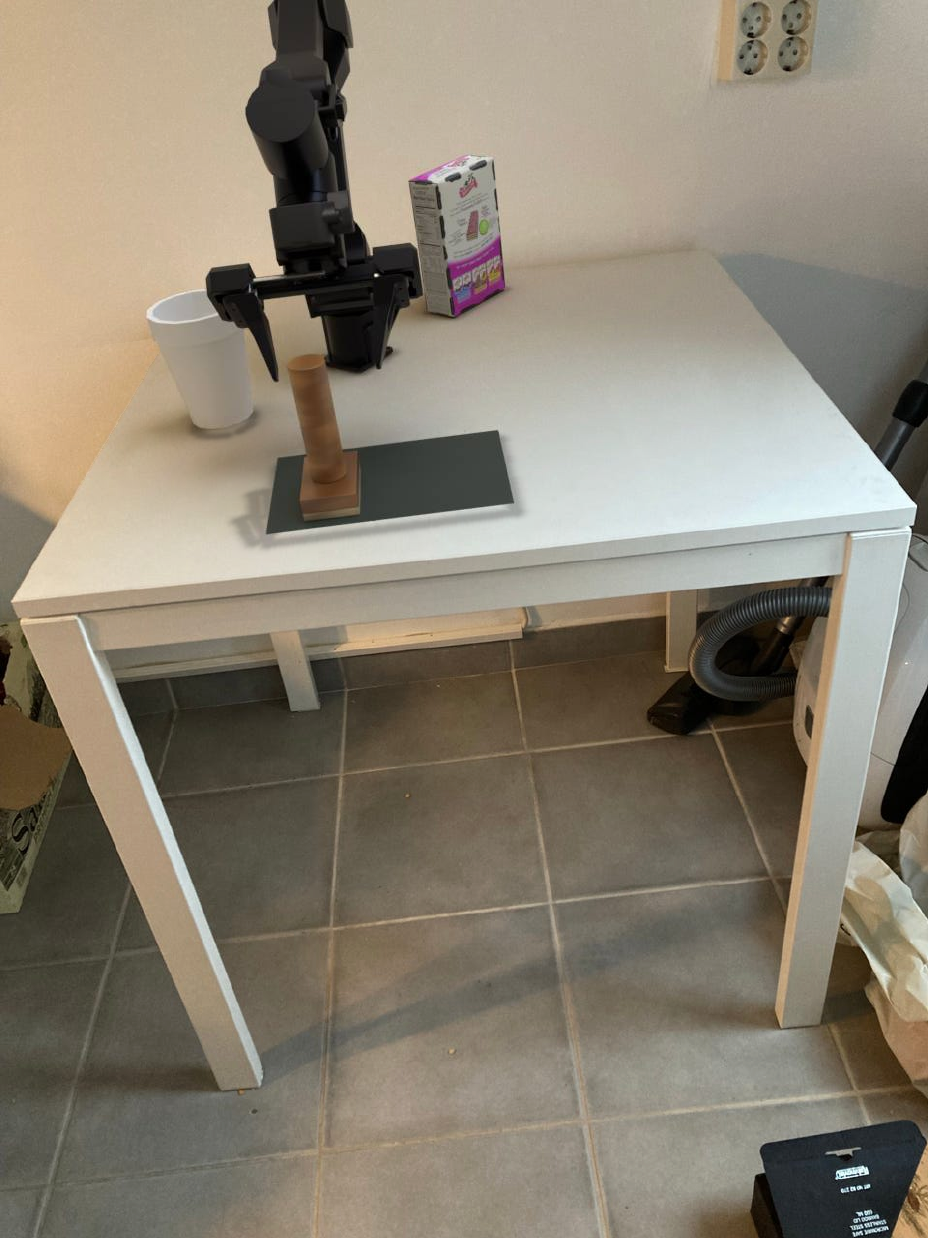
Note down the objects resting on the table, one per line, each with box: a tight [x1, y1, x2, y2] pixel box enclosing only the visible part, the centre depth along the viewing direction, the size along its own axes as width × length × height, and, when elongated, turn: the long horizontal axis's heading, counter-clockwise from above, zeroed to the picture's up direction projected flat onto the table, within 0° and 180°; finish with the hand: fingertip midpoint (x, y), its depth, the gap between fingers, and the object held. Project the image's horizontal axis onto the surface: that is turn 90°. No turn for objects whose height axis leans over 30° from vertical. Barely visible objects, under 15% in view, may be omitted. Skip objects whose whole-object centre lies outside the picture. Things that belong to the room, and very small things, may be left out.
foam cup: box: [146, 288, 254, 430], centre depth 103 cm, size 10×9×13 cm
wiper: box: [286, 353, 361, 521], centre depth 86 cm, size 5×8×13 cm, turn 4°
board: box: [265, 429, 515, 535], centre depth 92 cm, size 22×14×1 cm, turn 94°
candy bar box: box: [407, 154, 506, 318], centre depth 123 cm, size 11×5×16 cm, turn 141°
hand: (326, 373), depth 87 cm, fingers open, 9 cm apart
